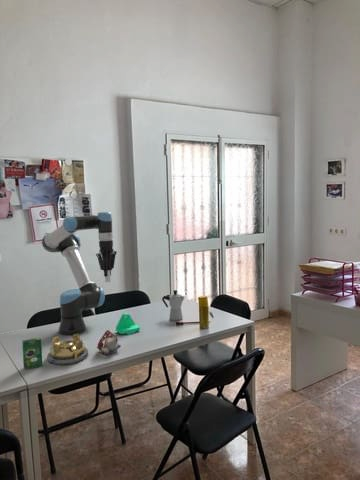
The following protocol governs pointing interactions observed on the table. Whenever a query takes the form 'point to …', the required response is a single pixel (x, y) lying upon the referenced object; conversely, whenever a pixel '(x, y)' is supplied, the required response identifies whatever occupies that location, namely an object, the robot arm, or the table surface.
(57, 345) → the brass finned hub
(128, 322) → the camera mount
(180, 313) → the coffee maker
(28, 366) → the coffee box
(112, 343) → the brake caliper
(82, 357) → the index base
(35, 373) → the table surface
